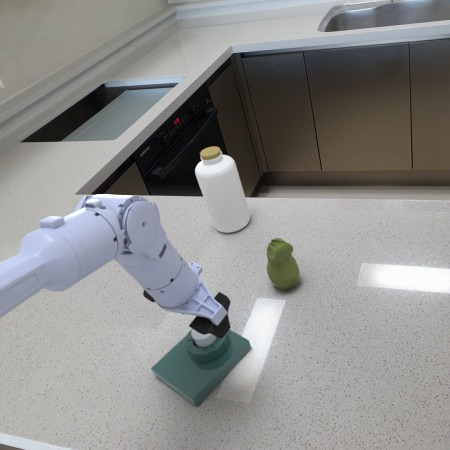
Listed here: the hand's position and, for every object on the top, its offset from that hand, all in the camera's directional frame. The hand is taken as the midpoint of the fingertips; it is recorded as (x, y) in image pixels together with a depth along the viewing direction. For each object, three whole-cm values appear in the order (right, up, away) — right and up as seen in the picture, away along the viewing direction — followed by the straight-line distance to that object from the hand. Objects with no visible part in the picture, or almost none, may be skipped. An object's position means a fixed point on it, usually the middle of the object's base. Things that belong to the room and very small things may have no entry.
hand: (205, 319), depth 65 cm
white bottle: (-1, +14, +37) cm, 39 cm away
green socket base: (-2, -8, +8) cm, 11 cm away
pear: (+11, +2, +19) cm, 22 cm away
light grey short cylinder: (-1, -4, +7) cm, 8 cm away
